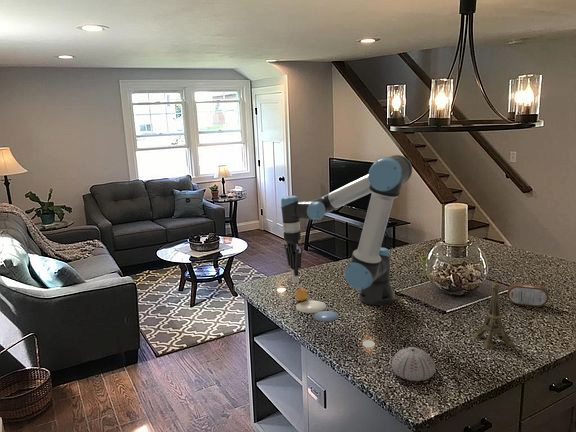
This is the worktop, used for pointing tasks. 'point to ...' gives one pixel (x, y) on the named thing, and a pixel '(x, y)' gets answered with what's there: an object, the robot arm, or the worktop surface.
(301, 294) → the ball
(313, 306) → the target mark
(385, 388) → the worktop surface
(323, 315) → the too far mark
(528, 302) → the tin
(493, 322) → the eiffel tower
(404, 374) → the sea urchin shell
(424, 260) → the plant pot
